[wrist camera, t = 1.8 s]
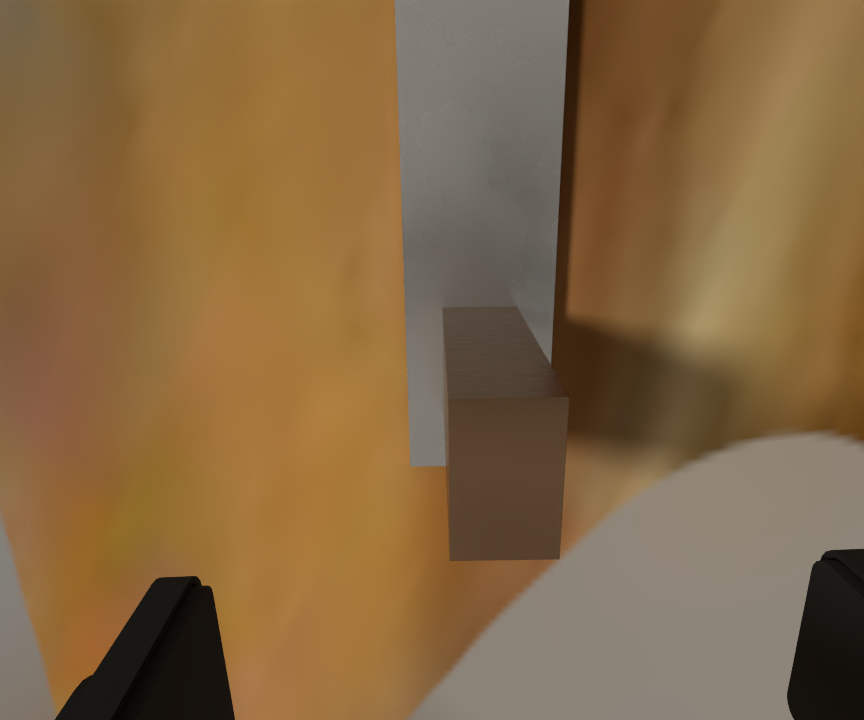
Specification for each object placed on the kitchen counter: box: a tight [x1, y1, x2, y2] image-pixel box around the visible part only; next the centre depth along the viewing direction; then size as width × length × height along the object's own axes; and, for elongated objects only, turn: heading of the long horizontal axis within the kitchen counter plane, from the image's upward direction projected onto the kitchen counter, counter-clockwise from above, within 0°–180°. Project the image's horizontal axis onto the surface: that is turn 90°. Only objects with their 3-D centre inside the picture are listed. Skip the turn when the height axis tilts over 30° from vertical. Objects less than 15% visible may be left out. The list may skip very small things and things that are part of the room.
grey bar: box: [395, 0, 569, 561], centre depth 14 cm, size 5×23×9 cm, turn 1°
